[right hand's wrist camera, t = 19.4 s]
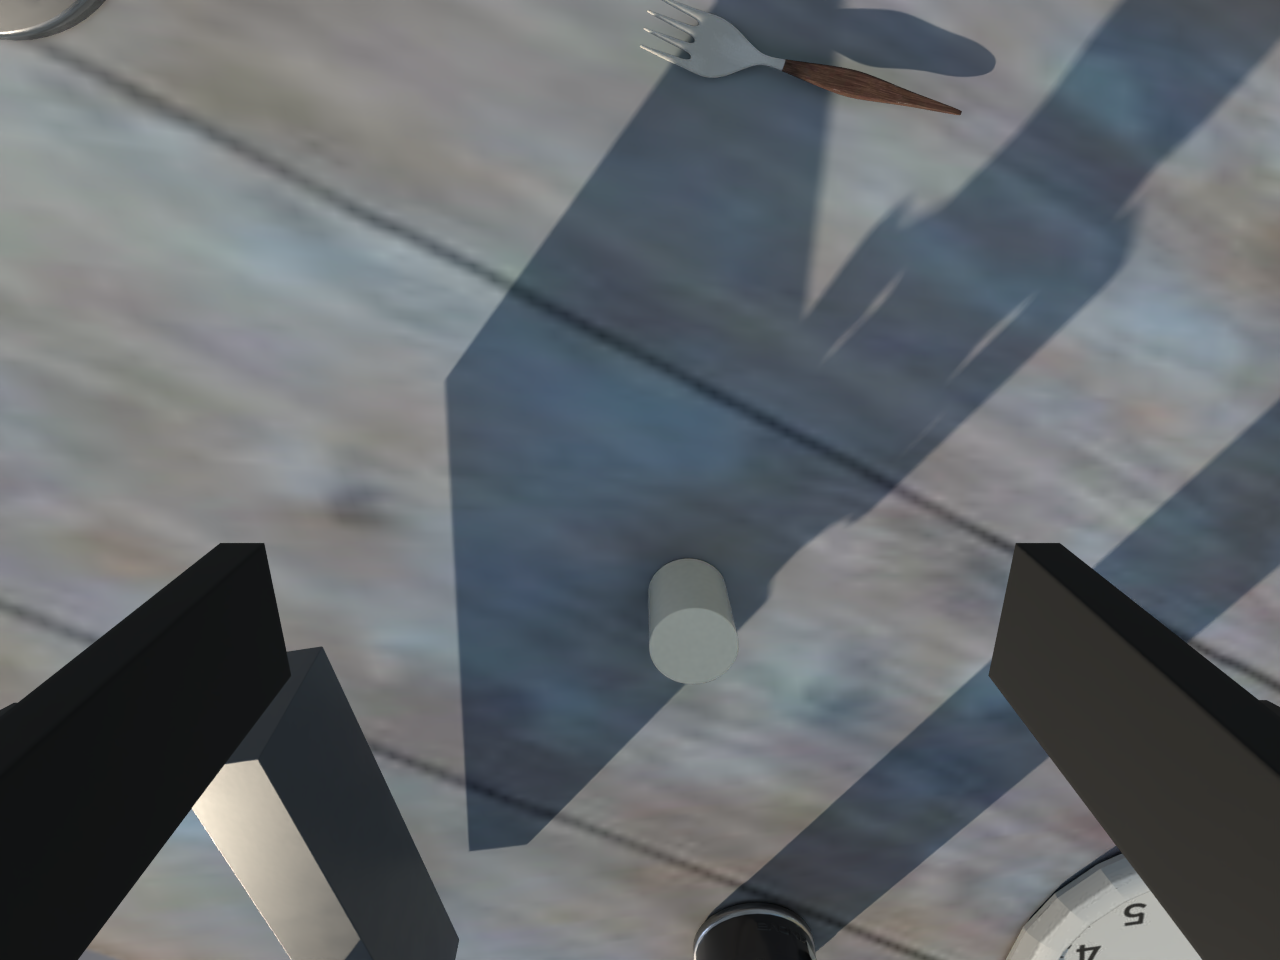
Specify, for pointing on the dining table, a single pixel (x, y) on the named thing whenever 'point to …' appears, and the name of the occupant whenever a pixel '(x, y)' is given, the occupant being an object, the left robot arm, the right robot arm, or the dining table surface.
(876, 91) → the fork
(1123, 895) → the wall clock
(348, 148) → the dining table surface
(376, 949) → the bar
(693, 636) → the off-white cylinder
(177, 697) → the right robot arm
